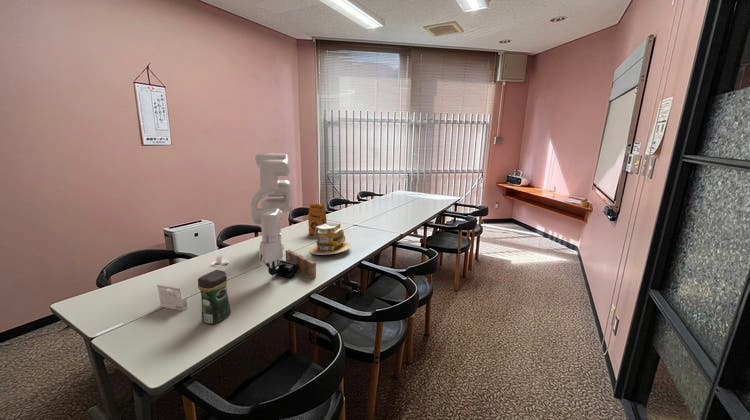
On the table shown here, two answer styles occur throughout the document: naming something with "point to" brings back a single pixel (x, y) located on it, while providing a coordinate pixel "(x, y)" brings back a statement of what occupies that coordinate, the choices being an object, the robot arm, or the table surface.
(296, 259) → the walnut board
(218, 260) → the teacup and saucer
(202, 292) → the coffee jar
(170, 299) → the ink cartridge box
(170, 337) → the table surface
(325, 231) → the stacked tins on plate
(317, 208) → the coffee package
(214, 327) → the table surface
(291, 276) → the end cap
